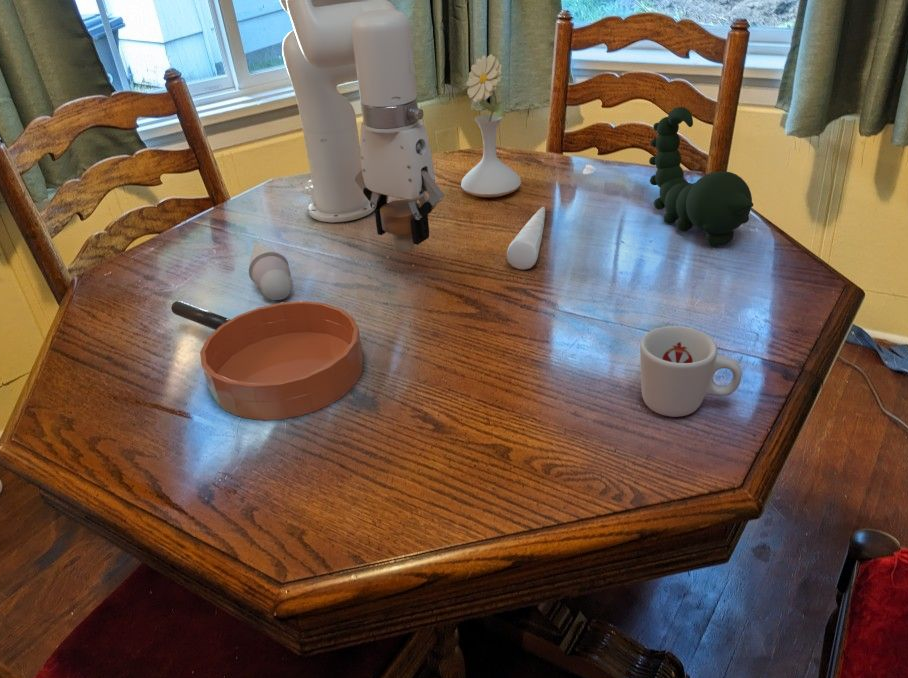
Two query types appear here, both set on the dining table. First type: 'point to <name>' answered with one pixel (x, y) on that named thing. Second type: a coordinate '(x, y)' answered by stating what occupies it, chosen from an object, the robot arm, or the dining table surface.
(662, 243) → the dining table surface
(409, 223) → the mushroom
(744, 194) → the toy figurine
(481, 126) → the flower in vase
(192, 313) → the pan handle
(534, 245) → the unicorn horn
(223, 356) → the pan
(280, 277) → the ice cream cone
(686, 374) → the cup
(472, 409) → the dining table surface
